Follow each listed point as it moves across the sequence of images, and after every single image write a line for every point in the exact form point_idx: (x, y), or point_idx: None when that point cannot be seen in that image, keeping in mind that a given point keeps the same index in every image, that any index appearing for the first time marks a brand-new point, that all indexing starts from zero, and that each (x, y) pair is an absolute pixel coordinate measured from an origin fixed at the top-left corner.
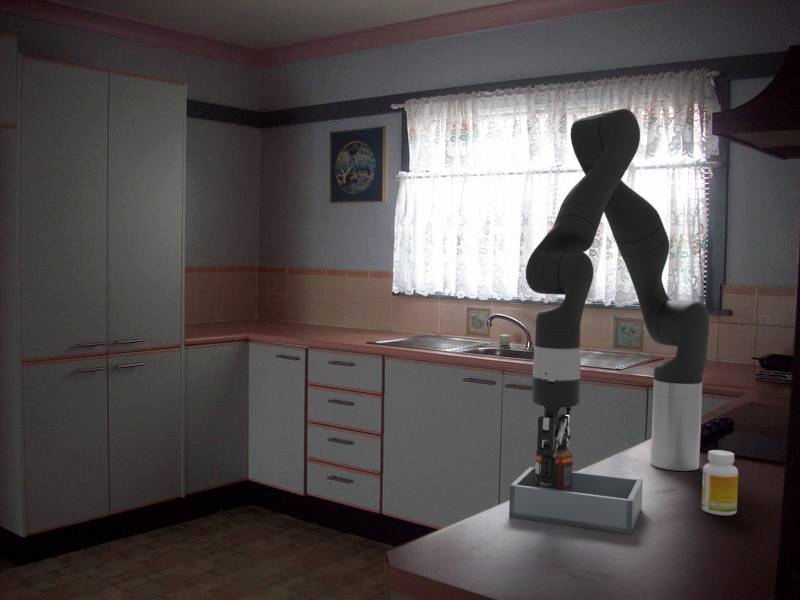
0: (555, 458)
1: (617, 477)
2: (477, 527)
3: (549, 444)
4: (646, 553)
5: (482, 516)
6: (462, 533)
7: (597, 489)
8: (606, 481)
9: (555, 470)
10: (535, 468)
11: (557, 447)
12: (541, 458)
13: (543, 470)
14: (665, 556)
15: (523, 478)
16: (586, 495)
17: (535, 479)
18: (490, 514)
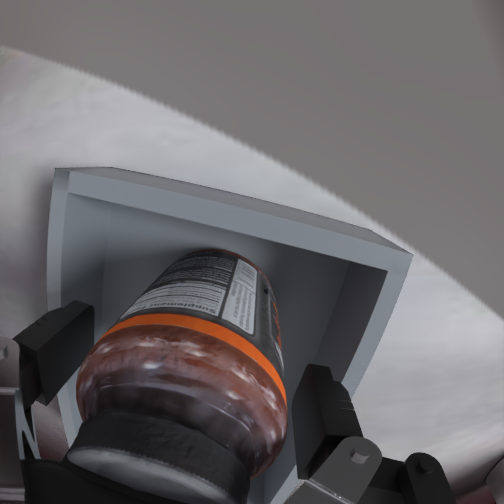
0: (38, 400)
1: (281, 492)
2: (32, 106)
3: (27, 427)
4: (33, 409)
5: (104, 94)
6: (3, 90)
7: (293, 434)
8: (286, 467)
9: (73, 372)
10: (174, 290)
11: (37, 445)
12: (22, 340)
13: (39, 323)
14: (38, 425)
15: (180, 217)
16: (59, 401)
17: (180, 273)
18: (125, 111)
